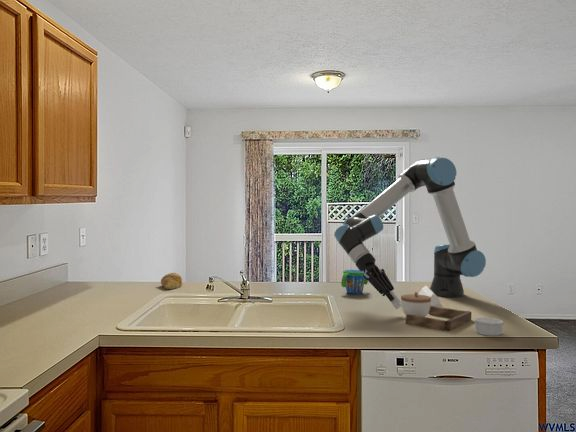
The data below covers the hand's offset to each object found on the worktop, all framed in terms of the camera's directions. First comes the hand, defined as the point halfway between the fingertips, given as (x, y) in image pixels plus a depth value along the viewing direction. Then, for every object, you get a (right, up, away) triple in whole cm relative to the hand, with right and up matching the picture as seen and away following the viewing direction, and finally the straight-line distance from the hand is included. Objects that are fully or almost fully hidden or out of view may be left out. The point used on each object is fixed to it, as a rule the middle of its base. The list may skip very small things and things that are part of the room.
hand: (399, 306), depth 188 cm
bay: (+12, -4, -8) cm, 15 cm away
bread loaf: (-98, -1, +56) cm, 113 cm away
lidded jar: (+5, -4, -3) cm, 7 cm away
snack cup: (-11, -2, +45) cm, 46 cm away
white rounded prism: (+16, -3, +18) cm, 24 cm away
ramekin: (+24, -5, -23) cm, 34 cm away
